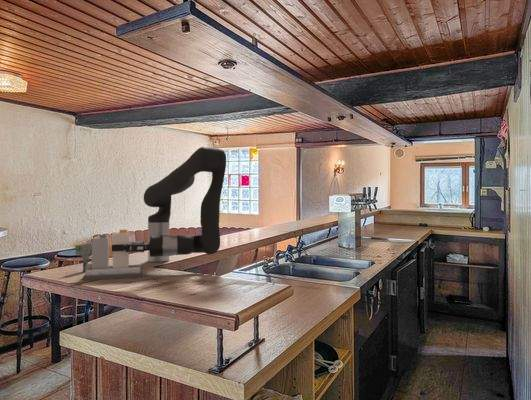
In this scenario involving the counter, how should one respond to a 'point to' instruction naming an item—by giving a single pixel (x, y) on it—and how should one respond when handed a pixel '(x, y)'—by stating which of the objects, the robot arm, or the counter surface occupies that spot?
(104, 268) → the grey l-shaped block
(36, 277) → the counter surface
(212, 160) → the robot arm
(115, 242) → the cream module
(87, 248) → the mechanical component
